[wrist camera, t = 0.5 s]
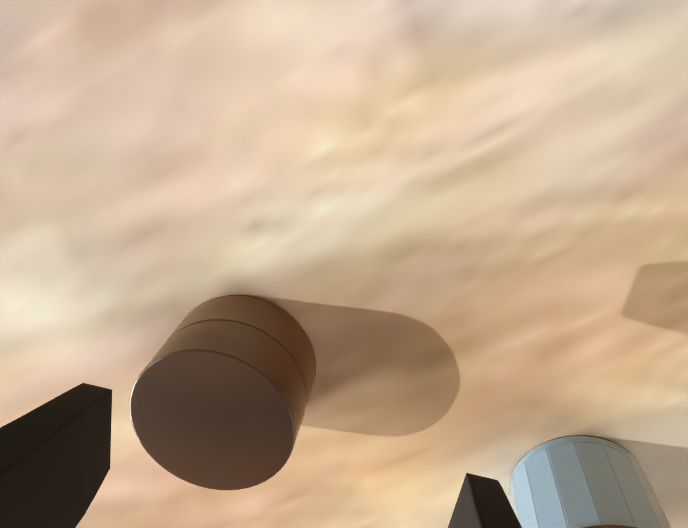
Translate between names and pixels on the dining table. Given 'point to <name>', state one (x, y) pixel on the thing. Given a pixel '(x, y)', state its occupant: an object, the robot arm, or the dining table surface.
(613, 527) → the top chip
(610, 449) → the cup
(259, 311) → the base chip
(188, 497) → the dining table surface
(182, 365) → the middle chip
